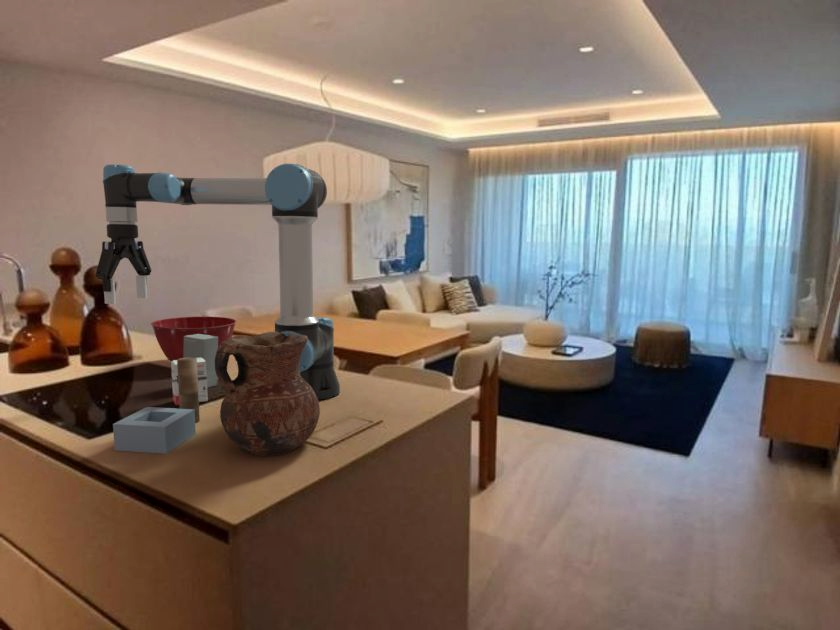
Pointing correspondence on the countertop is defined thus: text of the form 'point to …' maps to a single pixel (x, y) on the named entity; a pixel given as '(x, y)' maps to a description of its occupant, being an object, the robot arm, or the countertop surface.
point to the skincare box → (203, 353)
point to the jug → (266, 393)
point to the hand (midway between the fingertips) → (127, 300)
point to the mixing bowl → (189, 332)
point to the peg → (188, 385)
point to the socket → (154, 430)
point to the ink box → (201, 380)
